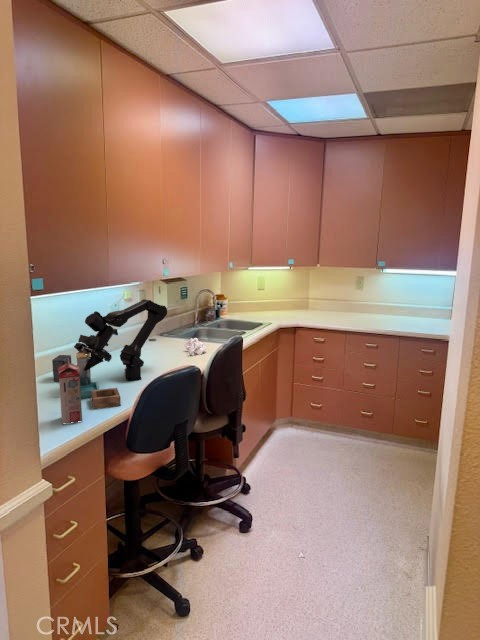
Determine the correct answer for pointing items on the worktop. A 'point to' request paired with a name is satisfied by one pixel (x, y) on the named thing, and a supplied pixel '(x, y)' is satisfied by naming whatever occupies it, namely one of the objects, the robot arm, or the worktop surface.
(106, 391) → the brown square frame
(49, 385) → the worktop surface
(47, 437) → the worktop surface
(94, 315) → the robot arm
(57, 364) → the box
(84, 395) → the teal tray
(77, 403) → the juice carton
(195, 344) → the white coral
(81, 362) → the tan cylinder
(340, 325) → the worktop surface
